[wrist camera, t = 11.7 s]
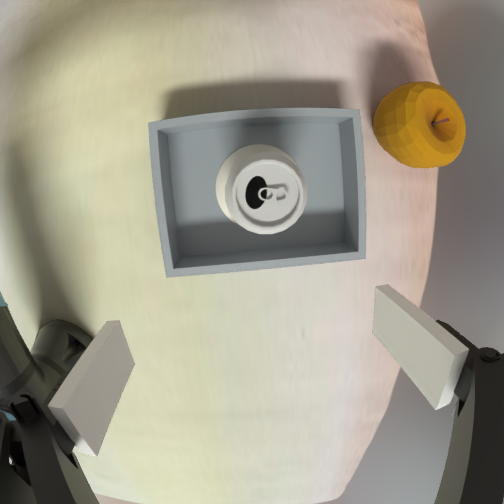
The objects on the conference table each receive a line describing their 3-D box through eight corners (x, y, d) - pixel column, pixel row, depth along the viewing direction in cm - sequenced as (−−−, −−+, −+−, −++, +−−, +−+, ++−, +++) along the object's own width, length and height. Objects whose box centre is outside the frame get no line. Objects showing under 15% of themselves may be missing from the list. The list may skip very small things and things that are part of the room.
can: (233, 153, 34) (231, 143, 22) (293, 164, 35) (319, 160, 23) (224, 212, 36) (217, 231, 24) (282, 221, 37) (302, 244, 25)
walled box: (176, 262, 39) (166, 277, 33) (161, 130, 34) (148, 122, 28) (348, 246, 39) (365, 258, 33) (342, 118, 34) (359, 109, 29)
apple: (392, 183, 37) (448, 190, 25) (343, 126, 35) (389, 108, 22) (431, 137, 35) (488, 132, 23) (387, 82, 33) (438, 57, 20)
